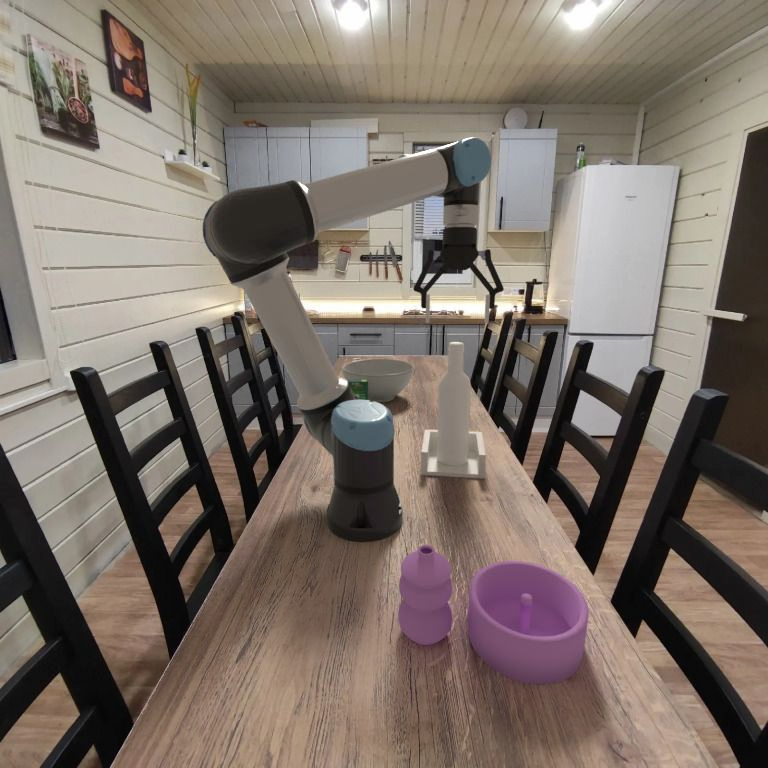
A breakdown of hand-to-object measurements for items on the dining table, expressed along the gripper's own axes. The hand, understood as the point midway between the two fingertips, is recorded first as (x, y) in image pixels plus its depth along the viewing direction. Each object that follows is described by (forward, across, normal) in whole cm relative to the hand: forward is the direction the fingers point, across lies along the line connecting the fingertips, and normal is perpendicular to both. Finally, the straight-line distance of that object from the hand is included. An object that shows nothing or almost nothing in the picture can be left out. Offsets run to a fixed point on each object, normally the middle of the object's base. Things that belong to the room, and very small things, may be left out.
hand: (456, 322), depth 107 cm
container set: (+36, +5, -54) cm, 66 cm away
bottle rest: (+36, 0, 0) cm, 36 cm away
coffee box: (+36, -31, +30) cm, 56 cm away
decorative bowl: (+36, -27, +54) cm, 71 cm away
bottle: (+35, 0, 0) cm, 35 cm away
